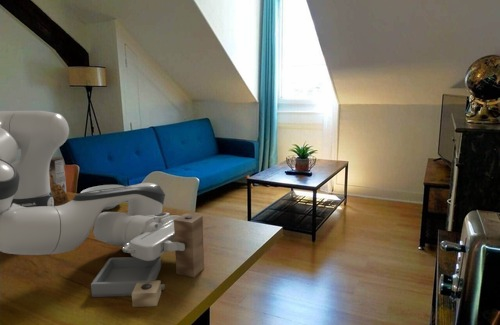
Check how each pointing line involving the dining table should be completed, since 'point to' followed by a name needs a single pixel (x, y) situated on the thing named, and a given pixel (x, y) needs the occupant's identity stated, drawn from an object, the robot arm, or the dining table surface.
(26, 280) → the dining table surface
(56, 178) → the coffee box
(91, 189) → the cereal bowl
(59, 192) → the stuffed squirrel
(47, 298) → the dining table surface
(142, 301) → the block
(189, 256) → the block
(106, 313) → the dining table surface
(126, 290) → the tray
